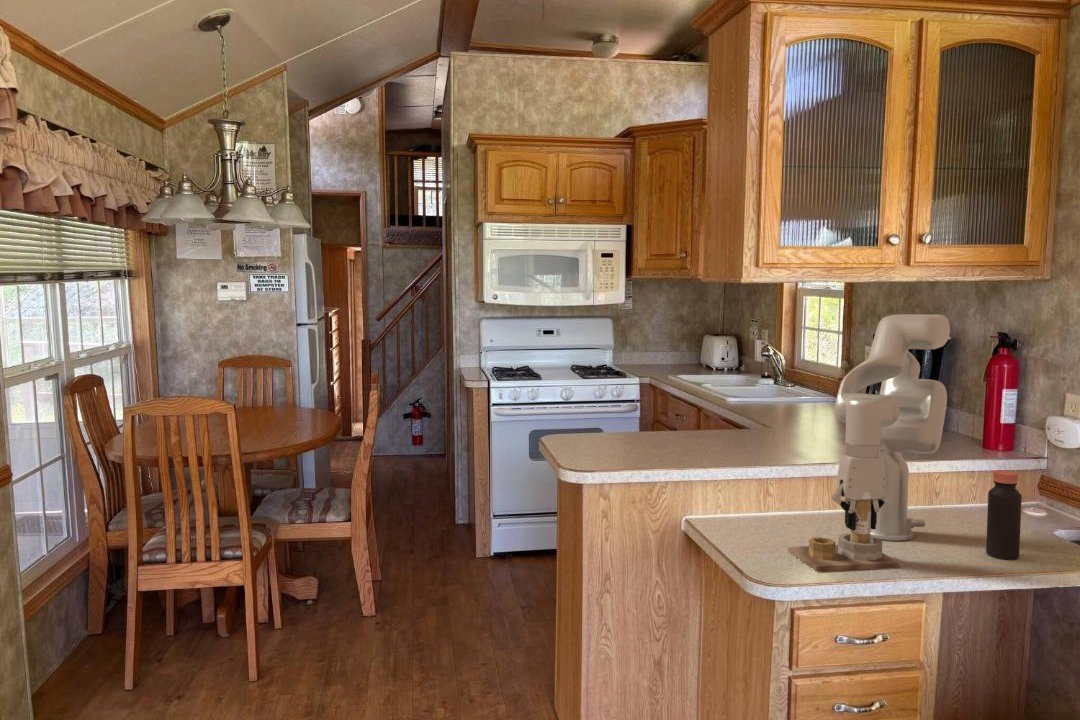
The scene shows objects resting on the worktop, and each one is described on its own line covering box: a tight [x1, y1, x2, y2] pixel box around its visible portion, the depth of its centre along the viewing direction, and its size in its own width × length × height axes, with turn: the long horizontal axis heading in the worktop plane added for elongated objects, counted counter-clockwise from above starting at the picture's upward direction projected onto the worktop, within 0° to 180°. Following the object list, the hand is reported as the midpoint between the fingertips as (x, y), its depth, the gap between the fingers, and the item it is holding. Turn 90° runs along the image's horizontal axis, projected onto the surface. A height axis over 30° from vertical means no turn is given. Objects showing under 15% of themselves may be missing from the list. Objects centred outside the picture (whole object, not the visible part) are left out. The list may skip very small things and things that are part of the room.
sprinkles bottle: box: [849, 492, 871, 544], centre depth 179 cm, size 5×5×14 cm
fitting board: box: [787, 532, 900, 572], centre depth 179 cm, size 20×14×5 cm
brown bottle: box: [985, 469, 1023, 561], centre depth 181 cm, size 7×7×20 cm
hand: (860, 527), depth 179 cm, fingers closed on sprinkles bottle, 4 cm apart
